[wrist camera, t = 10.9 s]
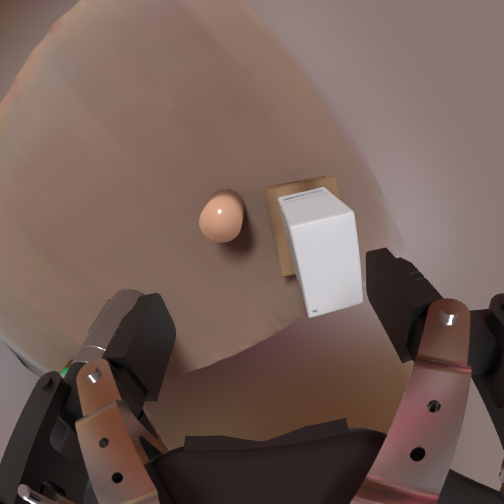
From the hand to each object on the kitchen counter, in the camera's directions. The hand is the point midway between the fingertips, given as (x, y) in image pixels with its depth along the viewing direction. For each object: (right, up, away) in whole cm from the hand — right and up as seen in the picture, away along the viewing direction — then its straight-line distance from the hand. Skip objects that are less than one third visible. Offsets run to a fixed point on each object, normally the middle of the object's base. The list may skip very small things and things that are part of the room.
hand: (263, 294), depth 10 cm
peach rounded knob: (-4, +8, +27) cm, 29 cm away
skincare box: (+7, +4, +25) cm, 26 cm away
